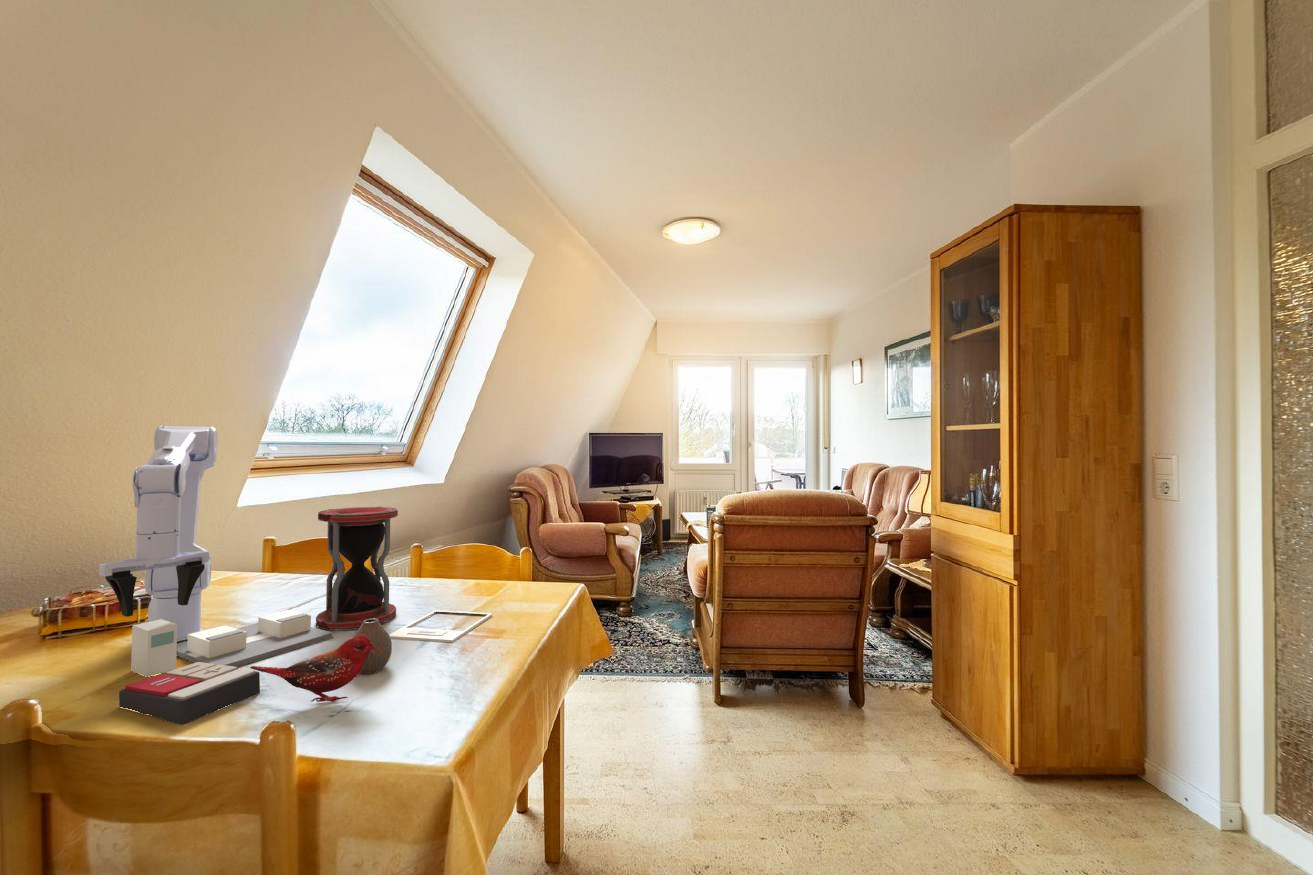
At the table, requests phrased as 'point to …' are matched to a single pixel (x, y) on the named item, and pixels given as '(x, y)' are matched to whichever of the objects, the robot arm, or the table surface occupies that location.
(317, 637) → the rail board
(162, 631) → the module block
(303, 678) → the decorative bird figurine
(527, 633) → the table surface
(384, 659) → the vase
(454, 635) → the photo frame
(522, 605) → the table surface
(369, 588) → the hourglass
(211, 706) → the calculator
